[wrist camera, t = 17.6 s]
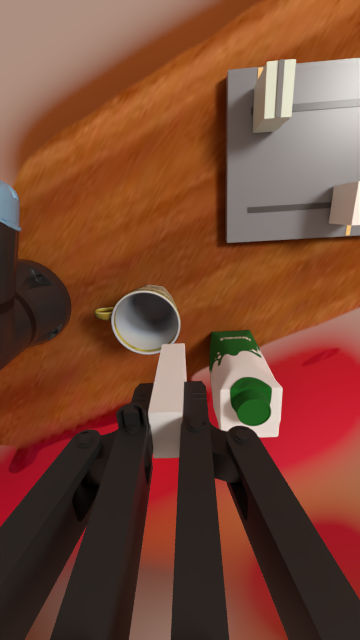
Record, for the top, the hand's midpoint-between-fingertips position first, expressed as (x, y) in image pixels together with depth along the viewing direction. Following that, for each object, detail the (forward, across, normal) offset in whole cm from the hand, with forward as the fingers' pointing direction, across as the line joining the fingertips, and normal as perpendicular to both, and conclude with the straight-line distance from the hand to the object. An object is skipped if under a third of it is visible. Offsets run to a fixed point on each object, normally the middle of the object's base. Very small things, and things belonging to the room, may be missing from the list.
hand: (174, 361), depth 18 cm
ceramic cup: (+30, -7, -5) cm, 31 cm away
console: (+29, +18, +15) cm, 38 cm away
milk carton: (+30, +8, -15) cm, 34 cm away
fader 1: (+27, +12, +21) cm, 36 cm away
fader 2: (+27, +23, +9) cm, 37 cm away
